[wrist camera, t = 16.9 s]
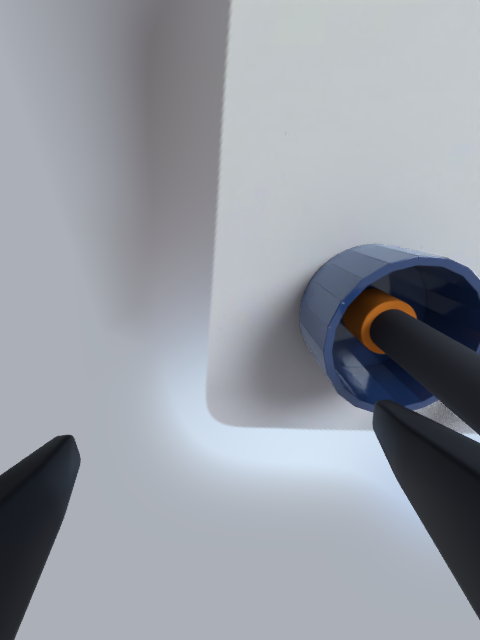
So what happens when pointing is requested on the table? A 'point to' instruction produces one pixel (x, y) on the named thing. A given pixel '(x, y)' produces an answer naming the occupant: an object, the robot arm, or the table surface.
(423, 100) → the table surface
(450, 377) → the scrub stick
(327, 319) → the blue plastic pot
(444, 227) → the table surface
